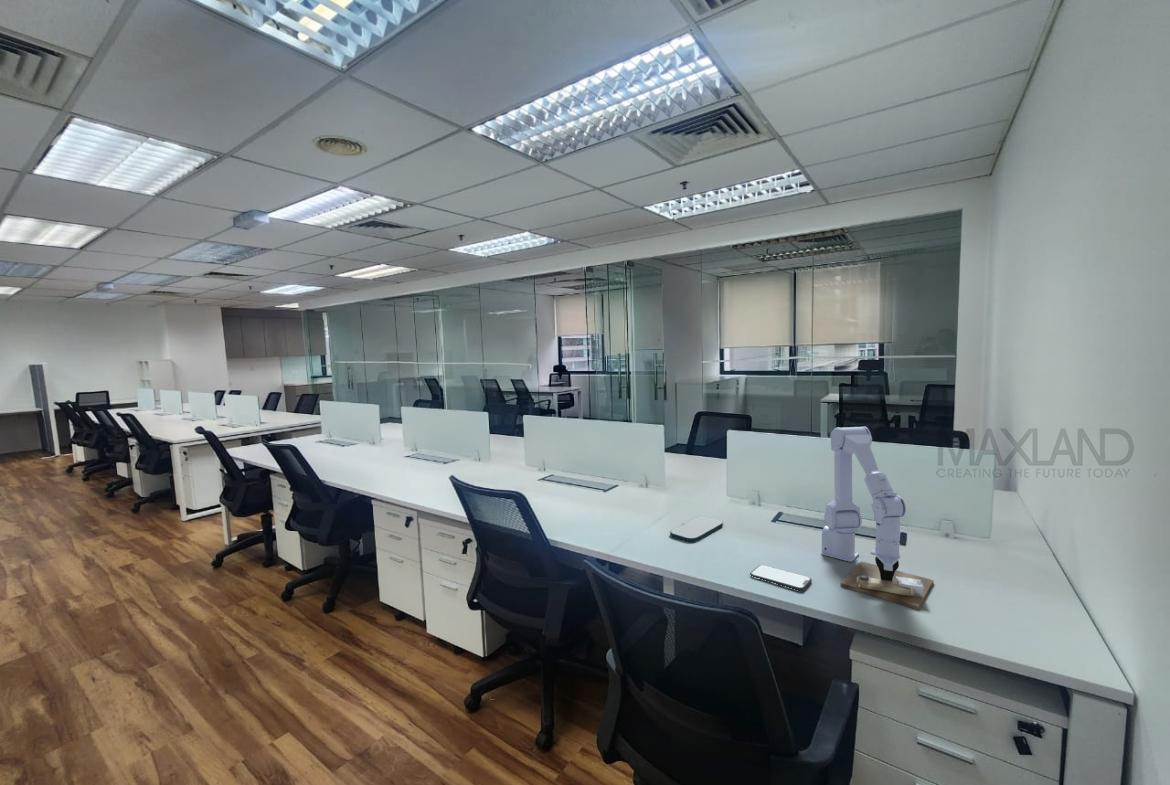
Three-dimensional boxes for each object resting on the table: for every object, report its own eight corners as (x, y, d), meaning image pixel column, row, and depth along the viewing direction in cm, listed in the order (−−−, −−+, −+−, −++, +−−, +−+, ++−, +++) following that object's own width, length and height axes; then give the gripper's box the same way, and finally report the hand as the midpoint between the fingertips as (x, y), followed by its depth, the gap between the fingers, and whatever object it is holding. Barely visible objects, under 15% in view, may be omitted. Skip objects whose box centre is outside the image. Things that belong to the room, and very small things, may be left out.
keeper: (897, 595, 134) (898, 583, 133) (895, 588, 138) (895, 576, 137) (923, 599, 131) (923, 587, 131) (920, 591, 135) (920, 579, 135)
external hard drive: (693, 545, 175) (693, 539, 175) (666, 537, 183) (666, 531, 183) (726, 526, 191) (726, 521, 191) (700, 519, 200) (700, 515, 199)
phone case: (748, 578, 149) (802, 594, 138) (748, 573, 149) (802, 589, 138) (760, 568, 156) (813, 582, 145) (760, 563, 156) (813, 577, 145)
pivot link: (856, 587, 138) (857, 578, 138) (856, 582, 141) (856, 573, 141) (910, 597, 132) (911, 587, 132) (909, 591, 135) (909, 581, 135)
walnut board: (840, 586, 142) (840, 582, 141) (861, 564, 155) (861, 561, 155) (918, 609, 128) (918, 606, 128) (933, 583, 141) (933, 580, 141)
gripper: (870, 527, 145) (869, 570, 147) (871, 545, 133) (870, 592, 134) (898, 530, 142) (897, 575, 143) (902, 550, 129) (900, 598, 131)
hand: (886, 584), depth 138 cm, fingers closed
